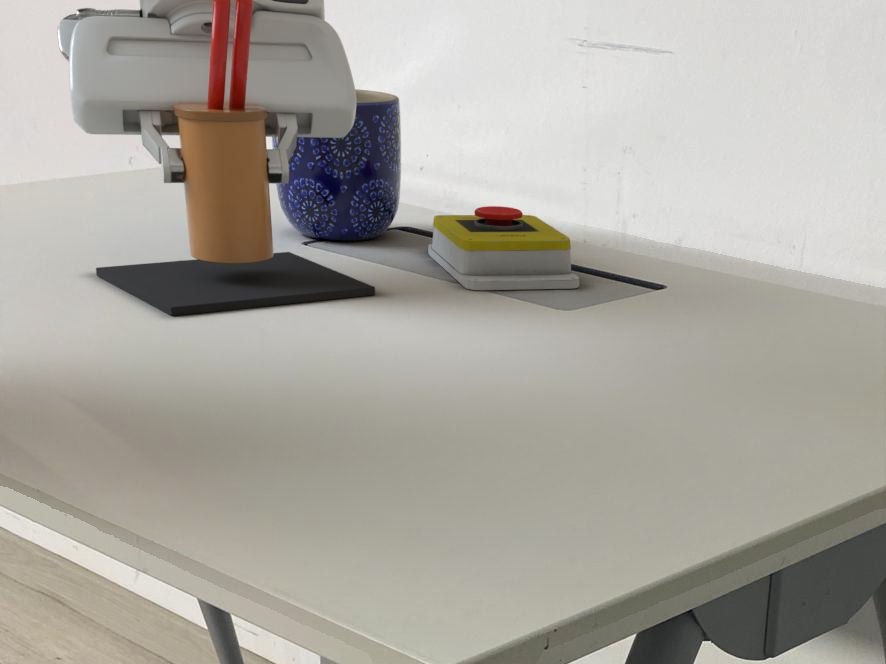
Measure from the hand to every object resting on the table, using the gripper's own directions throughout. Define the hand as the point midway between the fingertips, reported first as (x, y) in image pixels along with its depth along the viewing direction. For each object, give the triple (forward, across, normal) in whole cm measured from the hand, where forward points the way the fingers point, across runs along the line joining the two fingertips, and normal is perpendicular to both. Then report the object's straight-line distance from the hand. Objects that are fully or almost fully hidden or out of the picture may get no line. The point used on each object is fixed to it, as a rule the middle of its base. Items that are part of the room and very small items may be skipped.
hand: (227, 178), depth 103 cm
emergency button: (+2, +22, +9) cm, 24 cm away
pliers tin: (+3, 0, +4) cm, 5 cm away
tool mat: (+5, 0, +6) cm, 8 cm away
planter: (-9, +11, +20) cm, 25 cm away
